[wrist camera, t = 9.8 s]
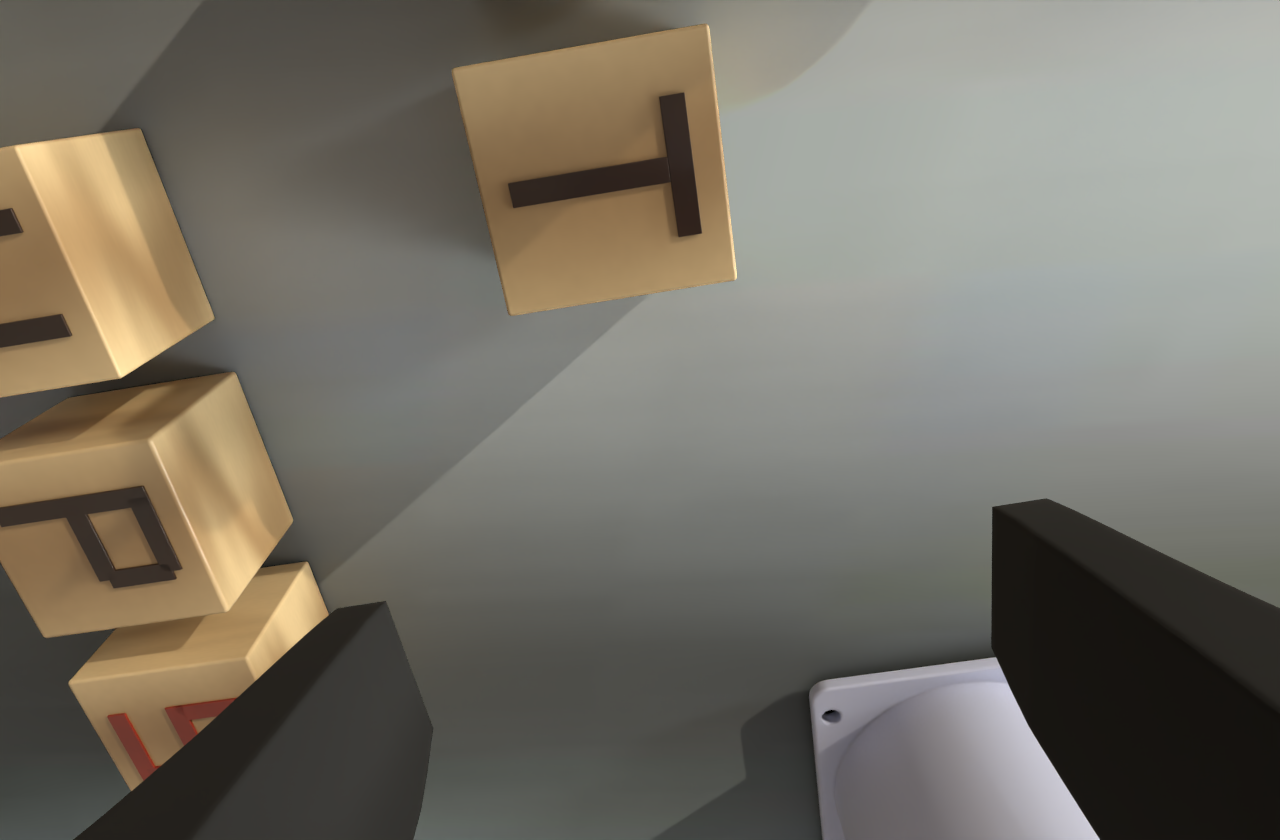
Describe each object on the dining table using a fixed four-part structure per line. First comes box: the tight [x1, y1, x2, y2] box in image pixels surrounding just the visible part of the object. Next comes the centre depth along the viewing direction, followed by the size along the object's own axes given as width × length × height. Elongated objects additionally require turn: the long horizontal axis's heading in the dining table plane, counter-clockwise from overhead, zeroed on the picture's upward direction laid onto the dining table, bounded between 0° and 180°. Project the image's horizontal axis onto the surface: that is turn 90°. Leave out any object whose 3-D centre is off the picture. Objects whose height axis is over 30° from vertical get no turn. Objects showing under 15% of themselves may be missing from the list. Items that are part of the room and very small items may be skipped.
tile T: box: [452, 24, 737, 316], centre depth 15 cm, size 4×4×4 cm
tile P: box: [0, 372, 293, 638], centre depth 17 cm, size 4×4×4 cm
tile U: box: [0, 128, 215, 398], centre depth 15 cm, size 4×4×4 cm
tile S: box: [68, 561, 329, 791], centre depth 19 cm, size 4×4×4 cm
